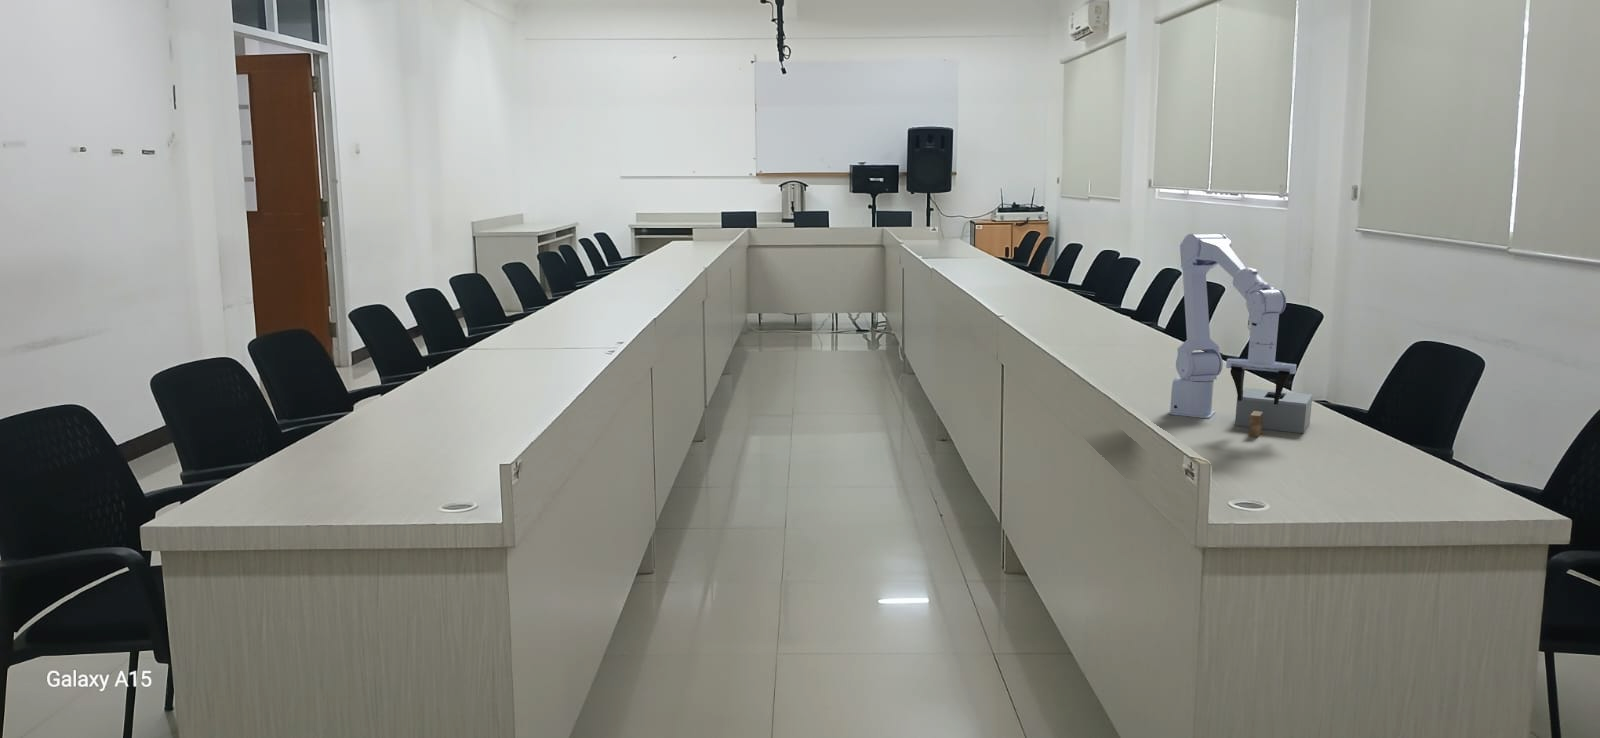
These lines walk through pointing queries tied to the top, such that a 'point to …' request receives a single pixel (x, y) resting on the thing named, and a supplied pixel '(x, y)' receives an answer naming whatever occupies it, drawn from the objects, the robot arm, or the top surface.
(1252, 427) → the brown wooden block
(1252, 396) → the ballot box
